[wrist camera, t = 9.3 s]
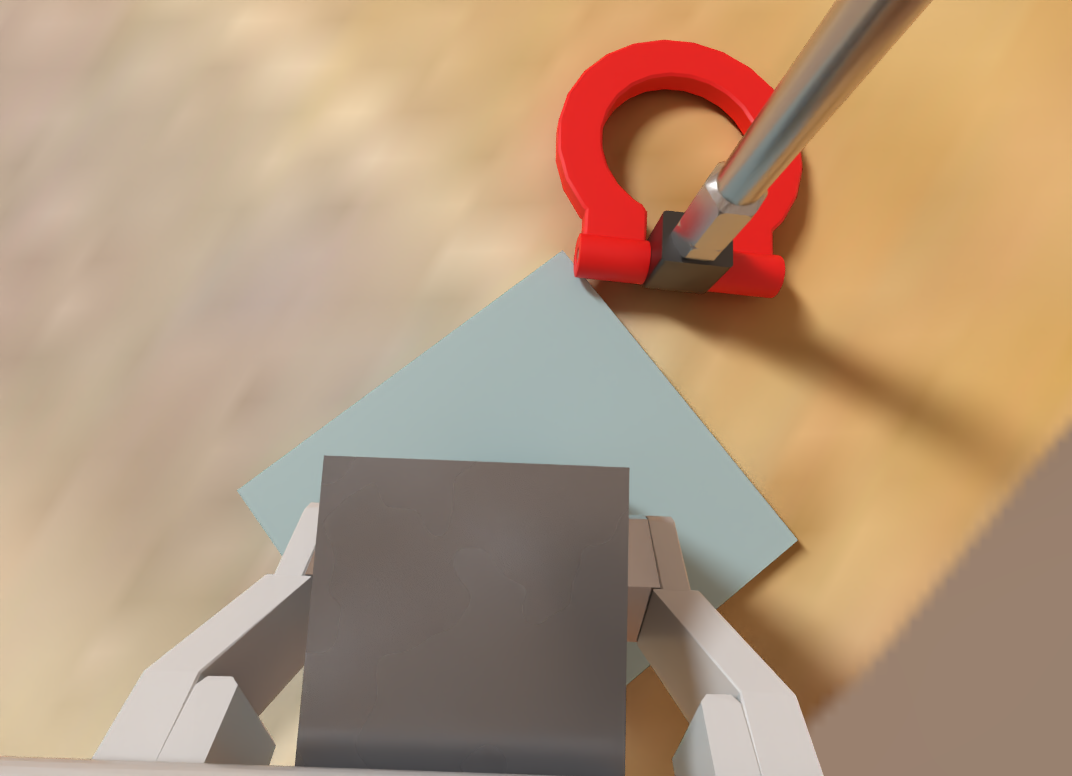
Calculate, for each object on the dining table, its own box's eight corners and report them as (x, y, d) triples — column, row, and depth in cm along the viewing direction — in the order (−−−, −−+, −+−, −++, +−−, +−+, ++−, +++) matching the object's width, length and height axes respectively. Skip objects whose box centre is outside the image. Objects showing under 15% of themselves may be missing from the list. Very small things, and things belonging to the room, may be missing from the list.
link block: (570, 605, 15) (628, 801, 7) (427, 600, 15) (288, 789, 6) (574, 464, 16) (632, 467, 7) (436, 459, 16) (320, 455, 7)
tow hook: (562, 51, 20) (543, 285, 18) (685, -739, 7) (671, -250, 5) (782, 80, 20) (789, 310, 18) (1254, -608, 8) (1442, -117, 6)
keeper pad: (467, 808, 16) (465, 820, 16) (246, 489, 17) (236, 490, 17) (788, 537, 18) (797, 540, 17) (561, 257, 19) (562, 250, 18)
